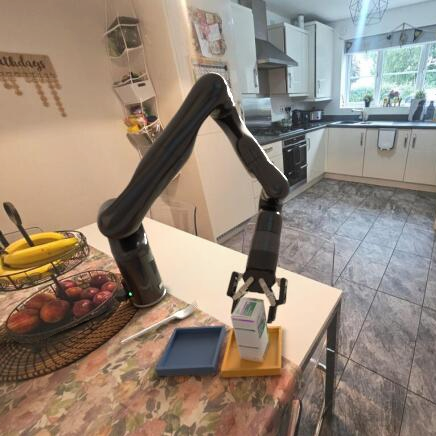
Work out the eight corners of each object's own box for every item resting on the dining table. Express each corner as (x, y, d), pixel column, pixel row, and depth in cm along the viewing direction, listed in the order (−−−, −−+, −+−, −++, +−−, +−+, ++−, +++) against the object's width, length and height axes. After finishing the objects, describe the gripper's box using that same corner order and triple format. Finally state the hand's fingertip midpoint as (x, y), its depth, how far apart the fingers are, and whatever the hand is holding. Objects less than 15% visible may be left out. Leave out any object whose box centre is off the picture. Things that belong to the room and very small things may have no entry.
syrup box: (263, 363, 57) (256, 319, 50) (239, 359, 58) (229, 315, 51) (269, 342, 62) (264, 298, 55) (247, 338, 63) (240, 295, 56)
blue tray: (157, 376, 55) (154, 369, 54) (177, 333, 66) (175, 327, 64) (215, 373, 56) (213, 366, 54) (226, 331, 66) (224, 325, 65)
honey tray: (222, 377, 55) (220, 371, 54) (232, 334, 65) (230, 328, 64) (281, 374, 55) (280, 368, 54) (281, 332, 65) (281, 325, 64)
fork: (121, 340, 64) (118, 335, 64) (196, 303, 75) (195, 299, 74) (122, 349, 62) (119, 344, 61) (200, 310, 73) (198, 305, 72)
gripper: (294, 257, 63) (285, 324, 58) (243, 251, 66) (230, 314, 62) (288, 251, 56) (277, 327, 51) (231, 245, 59) (216, 316, 55)
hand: (251, 320), depth 56 cm, fingers open, 8 cm apart
